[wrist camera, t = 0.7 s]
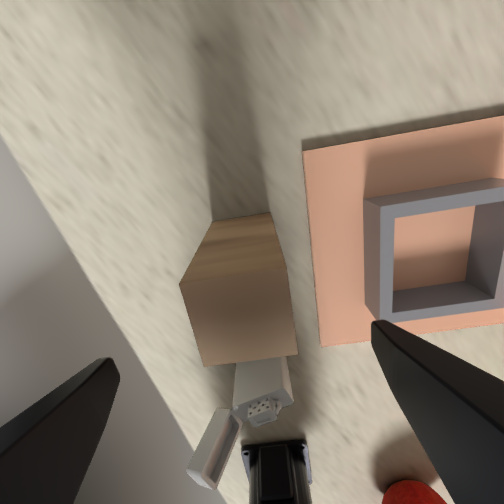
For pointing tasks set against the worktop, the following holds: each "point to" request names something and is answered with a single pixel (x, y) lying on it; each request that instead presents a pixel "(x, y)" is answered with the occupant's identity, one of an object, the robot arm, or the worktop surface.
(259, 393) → the lighter
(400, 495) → the apple
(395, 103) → the worktop surface
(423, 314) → the block holder
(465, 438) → the robot arm
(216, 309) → the wooden block
